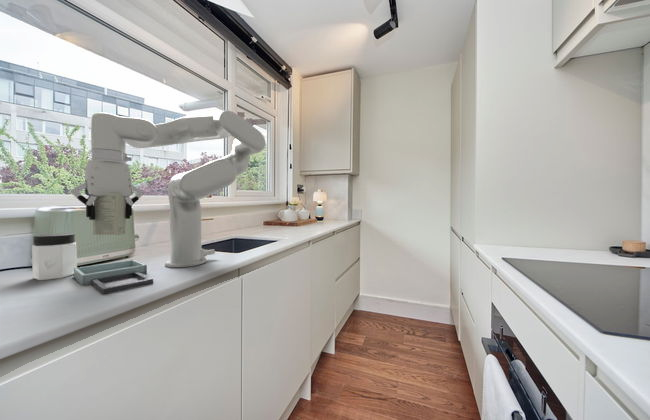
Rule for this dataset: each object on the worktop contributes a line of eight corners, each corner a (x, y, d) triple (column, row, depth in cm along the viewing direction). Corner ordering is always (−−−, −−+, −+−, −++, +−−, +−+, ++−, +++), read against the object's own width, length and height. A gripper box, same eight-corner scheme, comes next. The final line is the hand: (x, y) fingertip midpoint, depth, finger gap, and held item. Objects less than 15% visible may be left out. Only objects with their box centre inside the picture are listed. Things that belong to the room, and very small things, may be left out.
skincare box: (125, 234, 75) (127, 194, 76) (116, 235, 71) (119, 192, 71) (101, 233, 74) (104, 192, 75) (90, 234, 70) (93, 191, 70)
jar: (26, 282, 66) (25, 237, 66) (38, 275, 73) (37, 234, 73) (73, 277, 71) (72, 235, 71) (80, 270, 78) (79, 232, 78)
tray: (133, 267, 83) (133, 259, 82) (146, 273, 75) (146, 265, 75) (73, 276, 71) (73, 268, 71) (82, 285, 64) (82, 275, 64)
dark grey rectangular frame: (137, 275, 73) (137, 271, 73) (153, 283, 66) (153, 278, 66) (91, 284, 65) (91, 279, 65) (103, 294, 58) (103, 289, 58)
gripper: (140, 163, 82) (141, 217, 82) (63, 154, 68) (65, 220, 68) (148, 160, 77) (149, 218, 78) (68, 151, 63) (70, 221, 64)
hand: (110, 218), depth 73 cm, fingers closed on skincare box, 7 cm apart
